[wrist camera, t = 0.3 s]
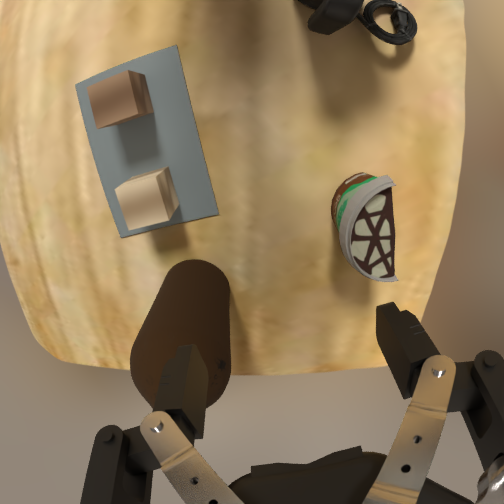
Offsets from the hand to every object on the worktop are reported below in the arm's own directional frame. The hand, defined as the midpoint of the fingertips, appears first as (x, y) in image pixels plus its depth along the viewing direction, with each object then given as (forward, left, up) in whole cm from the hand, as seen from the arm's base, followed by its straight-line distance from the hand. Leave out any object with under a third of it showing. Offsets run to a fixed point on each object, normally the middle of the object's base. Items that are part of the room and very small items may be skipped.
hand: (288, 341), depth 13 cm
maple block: (-2, -13, -28) cm, 30 cm away
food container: (+6, +10, -28) cm, 30 cm away
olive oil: (+13, -12, -28) cm, 33 cm away
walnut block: (-14, -13, -28) cm, 34 cm away
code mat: (-8, -13, -28) cm, 32 cm away
